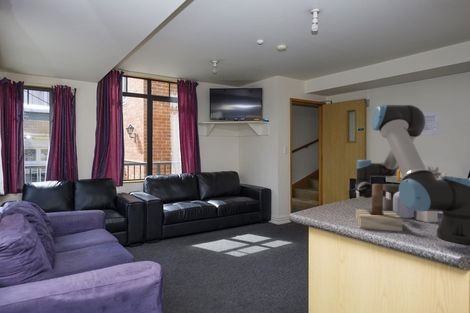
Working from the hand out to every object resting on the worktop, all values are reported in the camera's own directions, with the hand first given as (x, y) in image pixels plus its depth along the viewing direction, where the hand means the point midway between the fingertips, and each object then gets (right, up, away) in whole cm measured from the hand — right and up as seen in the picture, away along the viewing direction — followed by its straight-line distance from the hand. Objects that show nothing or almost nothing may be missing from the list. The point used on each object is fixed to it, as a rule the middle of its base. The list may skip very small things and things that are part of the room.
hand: (373, 196), depth 142 cm
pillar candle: (+23, -11, +28) cm, 38 cm away
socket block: (-2, -12, -7) cm, 14 cm away
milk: (+26, -12, +1) cm, 28 cm away
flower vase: (+38, -12, +22) cm, 45 cm away
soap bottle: (+20, -12, +11) cm, 25 cm away
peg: (-2, -12, -7) cm, 14 cm away
